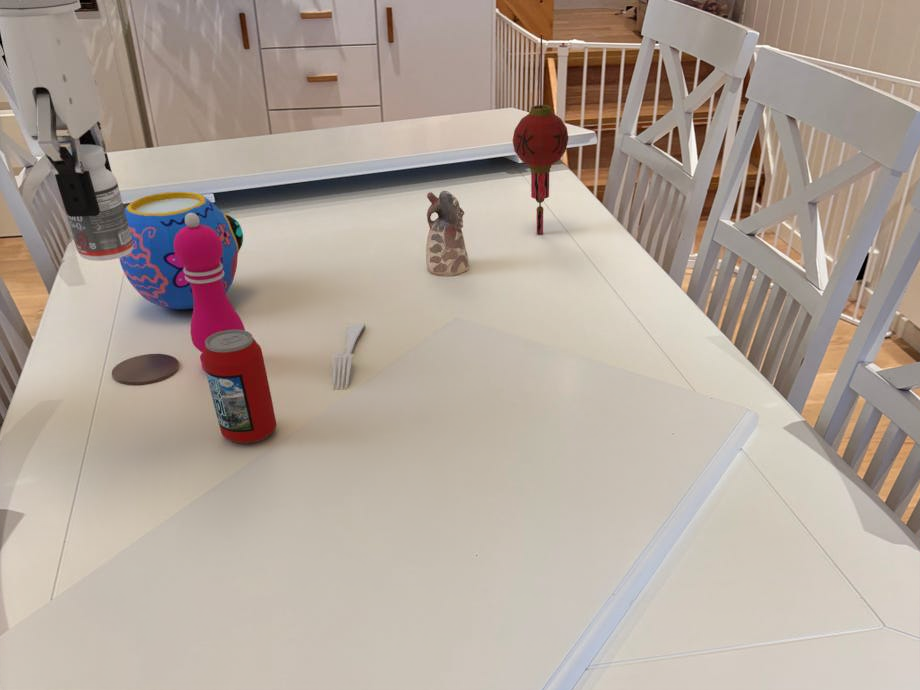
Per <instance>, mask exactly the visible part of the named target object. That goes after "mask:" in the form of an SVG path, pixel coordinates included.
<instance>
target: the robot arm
mask: <svg viewBox="0 0 920 690" xmlns="http://www.w3.org/2000/svg"><path fill="white" fill-rule="evenodd" d="M81 8H82V6H81V2H80V0H0V38H1V41H2V42H1V43H2V49H3V52H4V57H5V62H6V66H7V69H8V73H9V77H10V81H11V85H12V87H13V88H12V89H13V92H14V96H15V100H16V104H17V107H18V111H19V114H20V118H21V121H22V125H23V128H24V131H25V133H26V136H27V137H28V138H29V139H31V140H32V141H37V142H38V145H39V147H40V149H41V150H42V151H43V153H44V154H45V157H46V158H47V159H48V161H49V164H50V169H51V171H52V173H53V175H54V177H55V180H56V183H57V187H58V191H59V195H60V198H61V197H62V198H61V201H62V204H63V207H65V208H64V210H66V211H65V214H66V213H67V215H68V216H70V217H79V216H97V215H98V214H99V213H100V209H99V205H98V202H97V198H96V194H95V191H94V187H93V184H92V180H91V177H90V173H89V171H84V164H83V158H82V153H81V147H80V145H97V146H100V147H102V148H103V151H104V154H105V158H106V162H105V164H104V165H105V168H106V169H107V170H109V171H110V172H112V173H113V171H112V168H111V164H110V161H109V160H110V159H109V157H108V153H107V152H106V151H107V146H106V142H105V140H104V138H103V134H102V132H101V129H102V126H101V123H100V120H101V118H102V115H103V108H102V107H103V105H102V101H101V97H100V93H99V88H98V85H97V81H96V75H95V72H94V69H93V66H92V63H91V62H92V61H91V59H90V56H89V52H88V50H87V46H86V43H85V39H84V36H83V33H82V30H81V27H80V24H79V21H78V17H77V15H76V12H75V11H77V10H79V9H81ZM57 131H66V134H67V135H58V134H57ZM64 145H69V146H71V151H72V155H71V154H70V152H69V151H68V150H67V148H66V147H67V146H64ZM67 215H66V216H67Z"/></svg>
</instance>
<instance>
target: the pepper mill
mask: <svg viewBox="0 0 920 690" xmlns="http://www.w3.org/2000/svg"><path fill="white" fill-rule="evenodd" d="M199 222H200V221H199V217H198V216H197V215H196V214H195V213H188V214H187V215H186V216H185V223H186V225H187V226H186V227H184V228H183V229H181V230H180V231H179V232H178V233H177V234H176V236H175V239H174V251H175V255H176V257H177V259H178V260H179V261H180V262H181V263H182V264H183V265H185V267H184V269H183V271H184V273H185V279H186V280H187V281H188V282H190V285H191V288H192V293H193V299H194V308H193V311H192V315H191V320H190V321H191V322H190V339H191V342H192V344H193V346H194V347H195V348H196V349H197V350H198V351H200V352H201V354H200V355H199V359H200V364H201V368H202V371H204V372H205V373H206V370H205V366H204V362H203V358H202V357H203V352H204V349H205V345H206V344H205V341H206V339H207V338H208V337H209V336H211V335H212V334H215V333H217V332H221V331H225V330H244V331H246V328H245V325H244V323H243V321H242V319H241V316H240V315H239V313H237V310H235V308H234V306H233V305H232V303H231V301H230V300H229V297H228V296H227V292H226V293H225V290H224V287H223V281H222V277H223V276H224V271H223V269H222V268H223V265H222V263H220V262H219V260H220V258H221V256H222V254H223V245H222V242H221V239H220V237H219V236H218V234H217V233H216V232H215V231H214V230H213V229H211V228H210V227H208V226H205V225H199Z"/></svg>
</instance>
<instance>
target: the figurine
mask: <svg viewBox="0 0 920 690" xmlns="http://www.w3.org/2000/svg"><path fill="white" fill-rule="evenodd" d="M426 198H427V200H428V201H429V202H430V203H431V205H429V207H428V209H427V212H426V221H427V223H428V226H429V230H428V234H427V238H426V246H425V262H426V263H425V264H426V268H427V271H428V272H429V273H430V274H433V275H435V276H441V277H451V276H457V275H460V274H463V273H464V272H468V271H469V270H470V262H469V261H470V260H469V255H468V252H467V248H466V243H465V238H464V234H463V231H462V228H464V221H463V219H464V218H463V217H464V215H465V211H464V210H463V208H462V207H460V202H459V200H458V199H457V197H456V196H454V194H453V193H451V192H450V191H448V190H442V191H440V193H439V195H438V197H437V196H436V194H434V193H433V192H432V191H429V192H428V193H427V194H426ZM434 213H436V214H437V216H438V217H437V218H436V219H434V220H432V219H431V217H432V215H433V214H434Z"/></svg>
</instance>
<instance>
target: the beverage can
mask: <svg viewBox="0 0 920 690" xmlns="http://www.w3.org/2000/svg"><path fill="white" fill-rule="evenodd" d="M205 344H206V345H205V349H204V352H203V357H202V358H203V362H204V366H205V370H206V372H205V375H206V380H207V383H208V387H209V391H210V394H211V398H212V403H213V407H214V410H215V411H214V412H215V414H216V419H217V422H218V426H219V429H220V430H219V431H220V434H221V435H222V437H224V438H225V439H227V440H229V441H232V442H235V443H237V444H253V443H257V442H260V441H262V440H265V439H266V438H268V436H270V435H271V434H272V433H273V432H274V431H275V429H276V428H277V420H276V414H275V410H274V403H273V399H272V393H271V389H270V383H269V379H268V375H267V374H268V373H267V369H266V365H265V360H264V355H263V350H262V347H261V345H260V344H259V343H258V341H256V339H255V338H254V336H253V334H252V333H251V332H249V331H247V330H245V331H244V330H225V331H221V332H217V333H215V334H212V335H211V336H209V337H208V338H207V339H206V341H205Z"/></svg>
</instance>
